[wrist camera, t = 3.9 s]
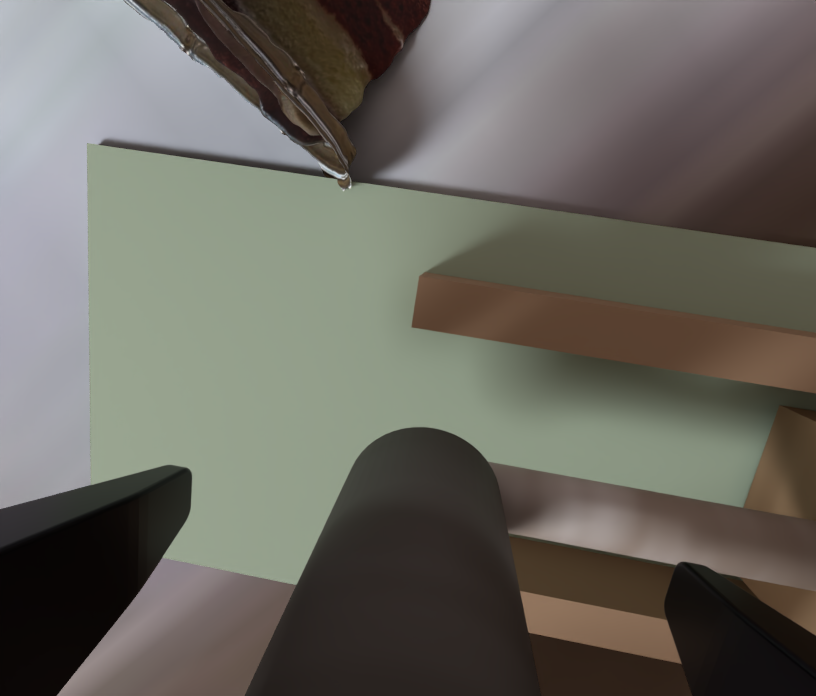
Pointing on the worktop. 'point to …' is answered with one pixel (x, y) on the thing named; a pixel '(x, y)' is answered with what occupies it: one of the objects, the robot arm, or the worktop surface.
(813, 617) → the sled
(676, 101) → the worktop surface
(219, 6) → the chocolate cake
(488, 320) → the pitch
